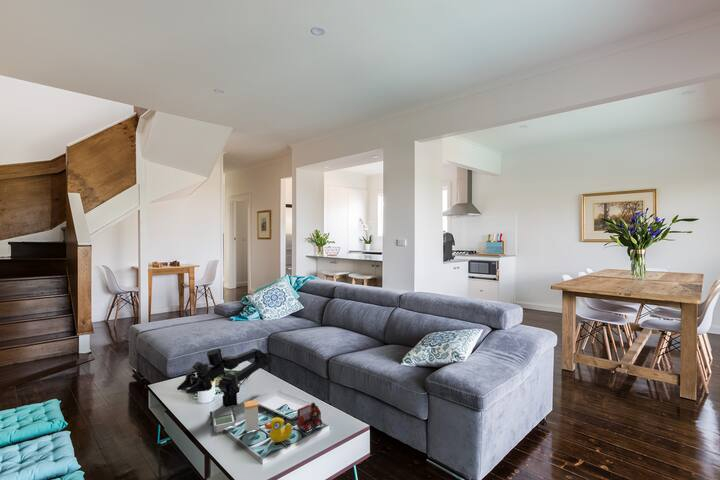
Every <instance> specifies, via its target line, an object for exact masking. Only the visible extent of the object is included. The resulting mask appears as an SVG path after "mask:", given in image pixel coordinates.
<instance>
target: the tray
mask: <svg viewBox="0 0 720 480" xmlns="http://www.w3.org/2000/svg"><path fill="white" fill-rule="evenodd" d="M252 400H257V402H258V404H259V406H260V407H262V408H265V409H266V410H269V411H271V412H273V413H276V414H278V415H279V416H282V417H285V418H287V419H289V420H294V419H296V418H298V417H297V416H298V415H295V416H293V417H290V416H287V415H285V414H283V413H282V412H279V411H277V410H274V409H275V408H277V407H279V406H282V405H284V404H287V405H288V407H289V408H290V409H293V410H298V409H300V408H302V407H304V406H307V405H311V403H313V402H312V401H310V400H307V399H304V398H301V397H299V396H296V395H294V394H290V393H288V392H285V391H282V390H280V389H274V390H271V391H269V392H267V393H264V394H263V395H260V396H257V397H256V398H253V399H252ZM315 405H316V406H317V404H316V403H315ZM295 417H296V418H295ZM293 418H294V419H293Z"/></svg>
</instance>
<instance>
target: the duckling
mask: <svg viewBox="0 0 720 480" xmlns="http://www.w3.org/2000/svg"><path fill="white" fill-rule="evenodd" d="M284 425H285V426H284ZM264 428H265V429H266V430H269V431H270V432H269V438H270V440H271V441H272V442H274V443H277V442H278V443H280V442H284V441H286V440H288V439H289V438H290V437H291V435H292V432H293V430H292V429H293V427H292V424H290V423H289V422H288V423H286V424H285V420H284V419H283V418H281V417H273V418H272V419H271V420H270V421H269V423H266V422H265V423H264Z"/></svg>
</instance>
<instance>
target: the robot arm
mask: <svg viewBox="0 0 720 480" xmlns="http://www.w3.org/2000/svg"><path fill="white" fill-rule="evenodd" d="M206 356H207V361H208V364H209V365H210V367H209V365H208V364H207V363H203V362H201V361H196V362H195V363H194V364H193V365H192V366H191V368H192V369H194V370H195V372H196V373H195V372H192V371H189V372H187V373H185V379H184V380H183V382H181V383H180V385H178V386H177V387H176V389H177V391H181V390H184V389H187V390H185V393H186V394H192V393H199V392H208V391H210V390H212V387H213V384H212V382H214V381H215V379H216V378H218V377H220V376H221V379H219V382H218V385H217V387H218V390H219V391H220V392H221V393H223V395H222V396H221V397H222V406H223V408H231V407H235V406H238V405H239V404H238V393H240V390H241V387H239V384H240V383H241V382H242V381H243V380H245V379H246V378H248V377H249V376H250V375H252V374H254V373H255V372H256V371H258V370H260V369H264V368H267V367H269V366H271V364H272V362H273V361H272V357H271V355H268V354H266V353H265V352H264V351H263V352H262V350H260V349H258V348H251V349H250V350H248V351H244V352H242V353H238V354H237V355H228V356H223V355H222V349H221V348H215V349H211V350H208V351H207V353H206ZM252 359H253V361H252V363H250V364H249V365H247V366H245V367H243V368H242V369H240V370H239V371H238V372H235V374H231V373H227V371H226V370H229V371H232V370H234V369H236V368H237V367H238V366H239V365H240V364H242V363H244V362H247V361H249V360H252ZM208 367H209V368H208Z"/></svg>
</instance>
